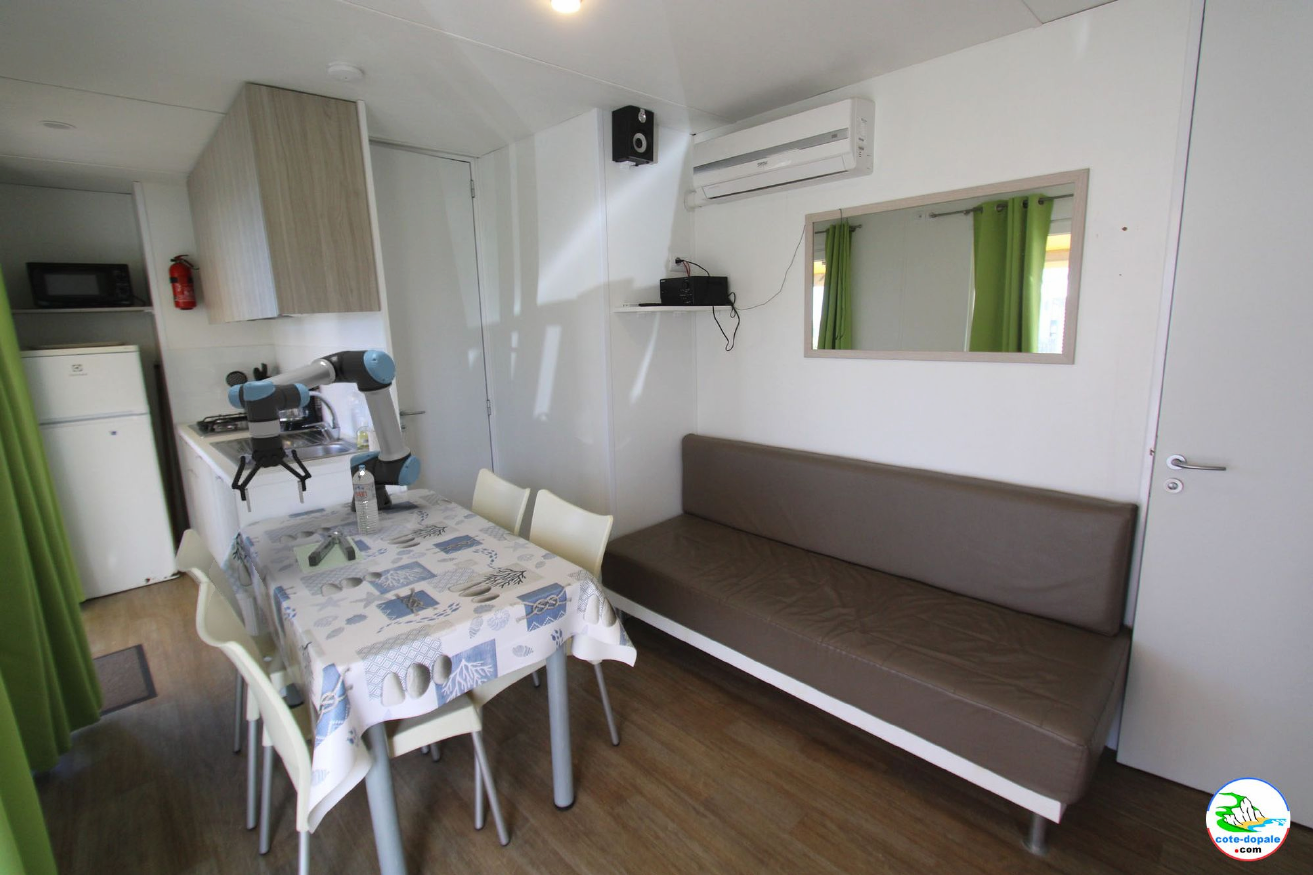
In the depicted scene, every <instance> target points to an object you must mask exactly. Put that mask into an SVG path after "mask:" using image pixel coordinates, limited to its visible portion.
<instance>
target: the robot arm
mask: <svg viewBox="0 0 1313 875" xmlns="http://www.w3.org/2000/svg"><path fill="white" fill-rule="evenodd" d="M396 371H397V370H396V364H395V361H394V360H393V358H392V357H391V356H390V355H389V354H388V353H387V352H385V351H382V350H375V349H369V350H365V349H364V350H342V351H338V352H335V353H334V352H333V353H331V354H328V355H326V356H322V357H319V358H316V359H314V360H312V362H311V363H310V364H307V365H304V366H302V367H299V368H295V369H292V370H289V371H286V372H283V373H280V374H276V375H273V376H271V377H268V378H265V379H262V380H257V381H256V380H255V381H248V382H245V383H242V384H235V385H233V386H232V387H231V388H230V389H229V390H228V392H227V394H228V395H227V398H228V402H229V405H231V406H232V407H233V408H235V409H238V410H244V411H245V410H246V417H247V426H248V431H249V436H250V444H251V450H252V453H251V454H240V456H239V458H240V459H239V465H238V467H237V470H236V472H235V475H234V477H233V481H232V482H231V490H237V491H239V494H240V500H241V501H242V502H245V501H246V507H247V512H248V513H251V512H252V508H251V507H252V506H251V500H250V494H249V488H247V487H248V485H249V484H250V482H251V481H252V480H253V478H254V477H255V476H256V475H257V473H258V472H259V471H260V469H261V468H264V469H267V468H271V467H272V468H275V467H276V468H277V467H278V466H282V467H283V468H284V469H285V470H287V471H288V472H289V473H290V474H291V475H293V476H294V477H296V478H297V479H298V480H296V482H297V490H298V495H299V502H300V503H301V504H304V503H305V501H304V492H307V484H306V482H307V480H309V479H312V477H313V476H312V474H311V473H310V471H309V470H308V468H307V467H306V466H305V464H304V463H303V461H301V459H300V458H299V456H298V454H297V453H298V452H297V450H296V449H295V448H294V447H292V448H290V449H286V450H285V449H284V446H283V445H284V444H283V438H282V435H281V432H282V431H281V423H280V417H279V416H280V415H279V413H280V412H284V411H291V410H298V409H301V408H303V407H306V406H307V405H308V404H309V402H310V399H311V397H310V396H311V395H310V391H309V390H310V389H312V388H313V389H314V388H315V387H318V386H322V385H323V386H329V385H332V384H344V383H346V384H355V385H356V386H357V387H356V388H357V391H358V392H359V393H362V395H363V394H364V399H365V401H366V406H367V407H368V408H367V409H368V412H369V416H370V419H371V422H372V426H373V428H374V432H375V435H376V439H377V442H378V445H379V449H380V450H371V451H366V452H361V453H358V454H354V455H353V456H351V457H350V460H349V465H350V466H349V470H350V475H351V480H352V479H353V477H354V475H355V474H356V473H357V472H358V471H359V470H360V469H359V466H361V465H364V466H365V470H367V471H369V472H370V473H371V474H372V475H373V476H374V484H375V493H376V498H377V507H378V512H380V511H389V510H391V509H392V508H393V507H394V505H393V500H392V499H391V496H390V494H389V492H388V490H387V487H386V486H397V487H404V486H405V487H406V486H412V485H414V484H415V483H416V482H417V481H418V479H419V476H420V474H421V470H422V468H421V467H422V464H421V460H420V458H419V457H418V456H417V455H416V456H415V455H412V452H411V448H410V447H408V446H406V445H405V443H404V439H403V434H402V432H401V429H400V428H401V427H400V423H399V420H398V416H397V412H396V408H395V406H394V401H393V398H392V395H391V391H390V390H391V389H390V388H391V387H392V385H393V381H394V380H395V378H396ZM286 455H288V457H290V458H292V459H293V460H294V461H295V463H296V464H297V466H298V467H299V468H300V469H301V471H302V472H303V473H304V474H301V472H299V471H297V470H296V469H295V468H293V466H291V465H290V464H288V463H287V462H286V461H284V458H285V457H286ZM250 460H252V461H254V462H255V464H254V465H253V467H252V468H251V470H250V471H249V472H248V473H247V475H246V476H245V477H244V478H243V480H242V482H241V483H239V482H240V481H241V479H242V476H243V473H244V470H245V467H246V464H248V463H249V462H250ZM351 482H352V481H351ZM352 489H353V492H354V486H353V482H352ZM352 495H353V496H352V499H351V502H350V503H351V504H350V512H352V513H356V505H355V495H354V493H352Z"/></svg>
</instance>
